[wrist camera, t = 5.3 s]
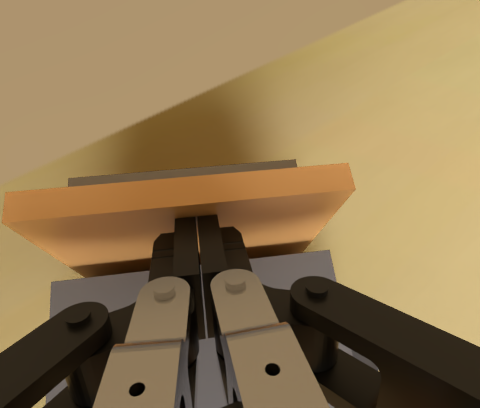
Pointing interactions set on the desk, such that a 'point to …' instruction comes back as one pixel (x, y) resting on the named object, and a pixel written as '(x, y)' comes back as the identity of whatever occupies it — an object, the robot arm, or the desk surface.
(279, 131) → the desk surface
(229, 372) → the robot arm
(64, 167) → the desk surface
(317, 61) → the desk surface
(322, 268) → the camera housing
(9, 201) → the side door
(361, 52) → the desk surface
